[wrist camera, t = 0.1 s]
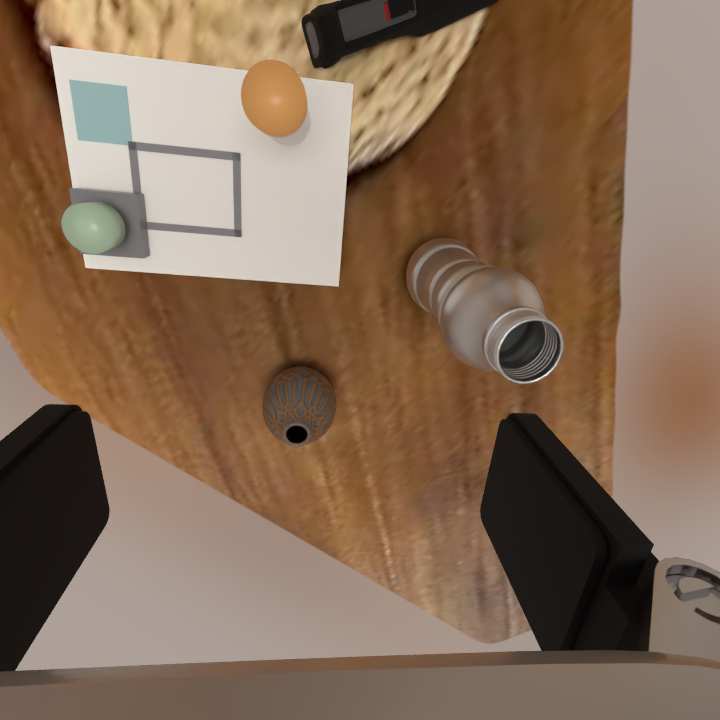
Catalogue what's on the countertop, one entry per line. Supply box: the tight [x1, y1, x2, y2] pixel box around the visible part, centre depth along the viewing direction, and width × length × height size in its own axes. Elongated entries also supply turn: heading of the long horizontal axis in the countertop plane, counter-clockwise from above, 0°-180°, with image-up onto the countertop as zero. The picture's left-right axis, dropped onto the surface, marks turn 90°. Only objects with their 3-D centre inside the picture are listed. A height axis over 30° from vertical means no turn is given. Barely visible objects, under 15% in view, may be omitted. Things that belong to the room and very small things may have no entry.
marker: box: [241, 60, 311, 146], centre depth 29 cm, size 4×4×10 cm
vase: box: [263, 367, 336, 447], centre depth 40 cm, size 7×7×9 cm
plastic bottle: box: [406, 238, 564, 384], centre depth 31 cm, size 6×7×20 cm
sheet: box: [50, 45, 354, 287], centre depth 35 cm, size 16×22×1 cm
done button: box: [62, 202, 125, 254], centre depth 32 cm, size 4×4×2 cm
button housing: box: [69, 188, 150, 259], centre depth 35 cm, size 5×5×2 cm
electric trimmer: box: [302, 0, 498, 68], centre depth 31 cm, size 4×15×3 cm, turn 106°
